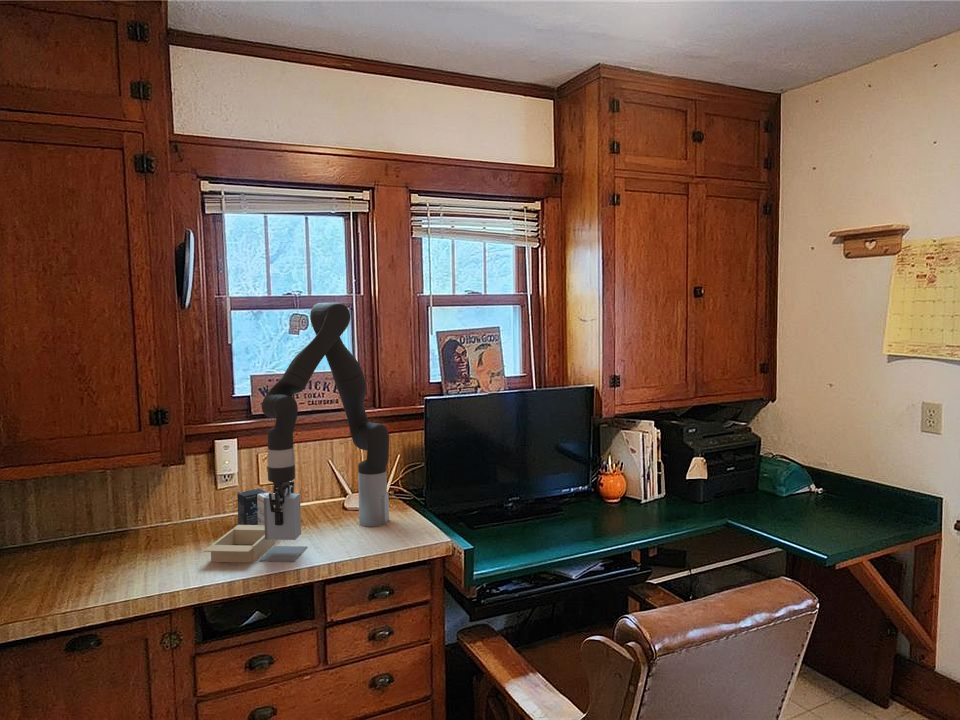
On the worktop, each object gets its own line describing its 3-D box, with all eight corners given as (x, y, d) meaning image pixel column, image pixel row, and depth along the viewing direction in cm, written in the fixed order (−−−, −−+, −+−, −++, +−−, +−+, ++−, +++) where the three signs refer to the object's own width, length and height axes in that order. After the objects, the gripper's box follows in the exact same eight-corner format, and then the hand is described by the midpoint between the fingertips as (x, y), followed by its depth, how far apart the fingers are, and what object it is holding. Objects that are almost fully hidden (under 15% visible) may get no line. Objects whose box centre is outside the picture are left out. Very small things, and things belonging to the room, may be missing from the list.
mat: (307, 547, 195) (307, 546, 195) (294, 562, 184) (294, 560, 184) (274, 547, 196) (274, 545, 196) (259, 561, 185) (259, 560, 185)
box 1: (245, 527, 213) (244, 495, 213) (237, 523, 217) (236, 492, 217) (268, 522, 219) (267, 491, 218) (260, 518, 223) (259, 487, 222)
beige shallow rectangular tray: (278, 539, 202) (277, 525, 202) (249, 567, 181) (248, 551, 180) (238, 539, 203) (237, 524, 203) (204, 566, 181) (203, 550, 181)
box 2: (301, 534, 192) (300, 493, 191) (295, 539, 187) (294, 498, 186) (271, 533, 192) (270, 493, 191) (264, 539, 187) (263, 498, 186)
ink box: (283, 533, 208) (281, 496, 207) (267, 536, 205) (266, 499, 204) (272, 526, 214) (271, 490, 214) (257, 529, 211) (256, 493, 210)
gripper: (285, 469, 180) (286, 530, 182) (302, 458, 195) (303, 514, 196) (258, 469, 181) (260, 530, 182) (277, 457, 195) (279, 514, 197)
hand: (282, 521), depth 189 cm, fingers closed on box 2, 5 cm apart
